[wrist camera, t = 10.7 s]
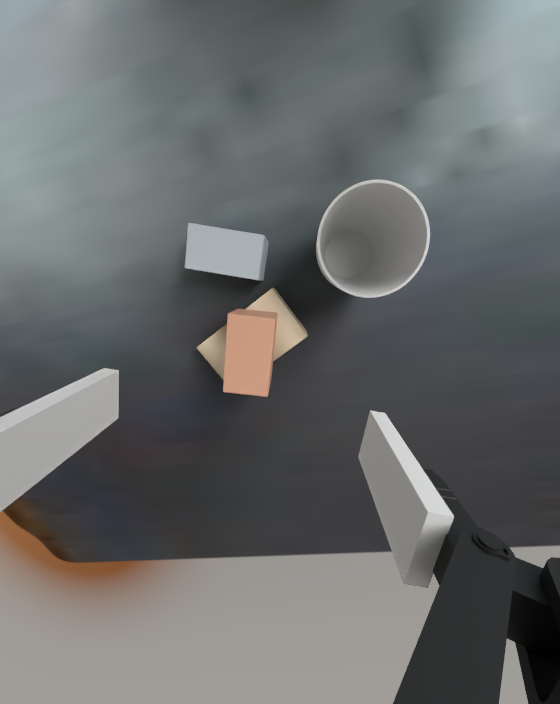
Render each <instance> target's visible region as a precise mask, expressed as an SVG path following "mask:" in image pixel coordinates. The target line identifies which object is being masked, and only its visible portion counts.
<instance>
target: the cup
mask: <svg viewBox="0 0 560 704" xmlns="http://www.w3.org/2000/svg"><path fill="white" fill-rule="evenodd" d="M429 241H430V227H429V221H428V217H427V214H426V212H425V209H424V207H423V206H422V204H421V202H420V201H419V200H418V198H417V197H416V196H415V195H414V194H413V193H412V192H411V191H410V190H408V189H407V188H405V187H404V186H402V185H400V184H398V183H395V182H392V181H387V180H368V181H364V182H360V183H358V184H355V185H353V186H351V187H349V188H348V189H346V190H345V191H343V192H342V193H341V194H340V195H338V196H337V197H336V198H335V199H334V200H333V202H332V203H331V204H330V205H329V207H328V208H327V210H326V212H325V214H324V216H323V218H322V220H321V223H320V226H319V230H318V236H317V243H316V257H317V262H318V265H319V267H320V270H321V272H322V273H323V275H324V276H325V278H326V279H327V280H328V281H329V282H330V283H331V284H333V285H334V286H335V287H337V288H339V289H341V290H343V291H344V292H346V293H349V294H351V295H354V296H358V297H365V298H373V297H380V296H384V295H387V294H390V293H392V292H395V291H396V290H398V289H400V288H401V287H403V286H404V285H405V284H407V283H408V282H409V281H410V280H411V279H412V278H413V277H414V276H415V274H416V273H417V272H418V270H419V269H420V267H421V266H422V264H423V262H424V259H425V257H426V254H427V251H428V247H429Z"/></svg>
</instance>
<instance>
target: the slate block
mask: <svg viewBox="0 0 560 704" xmlns="http://www.w3.org/2000/svg"><path fill="white" fill-rule="evenodd" d="M268 246H269V242H268V240H267V238H266V237H265V235H260V234H254V233H248V232H242V231H236V230H230V229H224V228H218V227H212V226H206V225H199V224H193V223H188V233H187V246H186V259H185V268H187V269H193V270H200V271H206V272H212V273H218V274H224V275H230V276H236V277H242V278H248V279H254V280H262V281H264V274H265V267H266V260H267V253H268Z"/></svg>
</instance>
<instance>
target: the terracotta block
mask: <svg viewBox="0 0 560 704" xmlns="http://www.w3.org/2000/svg"><path fill="white" fill-rule="evenodd" d="M277 317H278V313H276V312H266V311H257V310H247V309H236V310H234V311H232V312H230V313H228V318H227V335H226V352H225V368H224V385H223V392H229V393H238V394H247V395H256V396H265V397H268V392H269V388H270V383H271V377H272V367H273V357H274V347H275V337H276V327H277Z"/></svg>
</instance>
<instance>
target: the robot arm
mask: <svg viewBox="0 0 560 704" xmlns="http://www.w3.org/2000/svg"><path fill="white" fill-rule="evenodd" d="M118 412H119V370H113V369H107V368H103V369H101V370H99V371H97V372H95V373H93V374H91V375H89V376H86V377H84V378H82V379H80V380H78V381H76V382H74V383H72V384H69V385H67V386H65V387H63V388H61V389H59V390H57V391H55V392H52V393H50V394H48V395H46V396H44V397H42V398H40V399H38V400H36V401H33V402H31V403H29V404H27V405H25V406H23V407H20V408H16V409H13V410H10V411H8V412H5V413H3V414H1V415H0V512H1V511H2V510H4V509H5V508H6V507H7V506H9V505H10V504H11V503H12V502H14V501H15V500H16V499H17V498H19V497H20V496H21V495H22V494H24V493H25V492H26V491H27V490H29V489H30V488H31V487H33V486H34V485H35V484H36V483H38V482H39V481H40V480H41V479H43V478H44V477H45V476H46V475H48V474H49V473H50V472H51V471H53V470H54V469H55V468H56V467H58V466H59V465H60V464H61V463H63V462H64V461H65V460H66V459H68V458H69V457H70V456H72V455H73V454H74V453H75V452H77V451H78V450H79V449H80V448H82V447H83V446H84V445H85V444H87V443H88V442H89V441H90V440H92V439H93V438H94V437H95V436H97V435H98V434H99V433H100V432H102V431H103V430H104V429H105V428H107V427H108V426H109V425H111V424H112V423H113V422H114V421H116V420H117V419H118ZM359 460H360V463H361V466H362V468H363V471H364V474H365V477H366V480H367V482H368V485H369V488H370V491H371V494H372V496H373V499H374V502H375V505H376V508H377V510H378V513H379V516H380V519H381V522H382V524H383V527H384V530H385V533H386V536H387V538H388V541H389V544H390V547H391V550H392V552H393V555H394V558H395V561H396V564H397V566H398V569H399V572H400V575H401V578H402V580H403V583H404V584H408V585H414V586H420V587H426V588H428V586H429V583H430V581H431V578H432V575H433V573H434V575H435V577H436V579H437V581H438V583H439V585H440V586H439V589H438V592H437V594H436V597H435V599H434V602H433V604H432V606H431V609H430V612H429V614H428V617H427V619H426V622H425V624H424V627H423V630H422V632H421V635H420V637H419V639H418V642H417V645H416V647H415V650H414V652H413V654H412V657H411V660H410V662H409V665H408V667H407V670H406V672H405V675H404V677H403V680H402V682H401V685H400V687H399V690H398V692H397V695H396V697H395V700H394V703H393V704H499V696H500V687H501V680H502V671H503V663H504V655H505V647H506V639H507V638H508V639H510V640H512V641H514V642H515V643H516V648H517V652H518V656H519V661H520V666H521V671H522V675H523V679H524V685H525V690H526V694H527V699H528V703H529V704H560V558H550V559H549V560H548V561H547V562H546V564H545V566H544V568H541V567H538V566H536V565H533V564H530V563H528V562H526V561H523V560H520V559H518V558H516V557H515V555H514V554H513V552H512V551H511V549H510V548H509V547H508V546H507V545H506V544H505V543H504V542H503V541H502V540H501V539H500V538H498V537H497V536H495V535H494V534H492V533H491V532H489V531H487V530H484V529H482V528H479V527H477V526H476V524H475V523H474V522H473V520H472V519H471V517H470V516H469V515H468V513H467V512H466V511H465V509H464V508H463V507H462V505H461V504H460V503H459V501H458V500H456V497H455V496H454V494H453V493H452V492H451V491H450V489H449V488H448V486H447V485H446V483H445V482H444V481H443V479H441V478H440V477H439V476H438V475H437V474H435V473H434V472H433V471H432V470H429V469H422V468H421V466H420V465H419V463H418V462H417V460H416V459H415V457H414V456H413V454H412V453H411V451H410V450H409V448H408V447H407V445H406V444H405V442H404V441H403V439H402V438H401V436H400V435H399V433H398V432H397V430H396V429H395V427H394V426H393V424H392V423H391V421H390V420H389V418H388V417H387V415H386V414H385V413H382V412H376V411H370V413H369V417H368V421H367V425H366V429H365V433H364V437H363V441H362V445H361V449H360V453H359Z"/></svg>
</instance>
